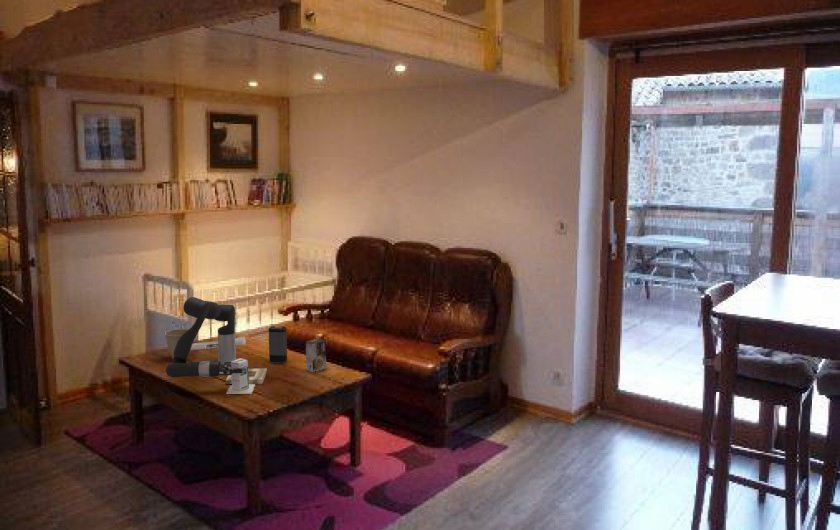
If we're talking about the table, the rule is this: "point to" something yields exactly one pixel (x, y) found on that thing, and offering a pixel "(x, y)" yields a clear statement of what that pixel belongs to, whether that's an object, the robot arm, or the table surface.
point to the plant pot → (173, 338)
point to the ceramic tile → (245, 391)
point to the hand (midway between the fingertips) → (243, 368)
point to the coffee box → (315, 355)
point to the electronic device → (277, 345)
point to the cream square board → (257, 373)
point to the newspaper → (215, 344)
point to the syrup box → (240, 375)
